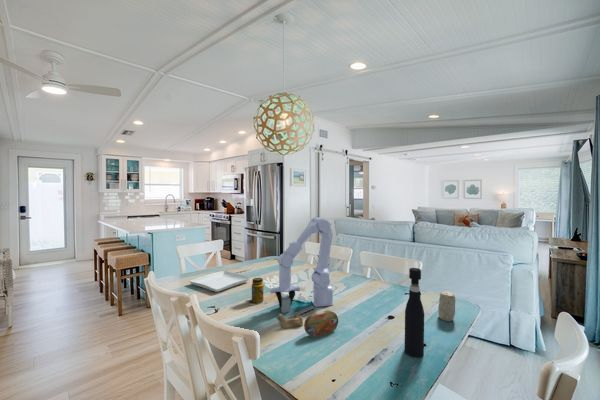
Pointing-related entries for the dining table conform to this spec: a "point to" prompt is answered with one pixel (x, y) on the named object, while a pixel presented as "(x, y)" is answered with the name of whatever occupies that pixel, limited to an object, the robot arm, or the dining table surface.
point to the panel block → (285, 304)
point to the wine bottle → (414, 317)
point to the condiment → (257, 292)
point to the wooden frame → (291, 321)
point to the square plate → (220, 280)
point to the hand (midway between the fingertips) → (285, 306)
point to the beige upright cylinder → (446, 306)
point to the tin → (320, 323)
